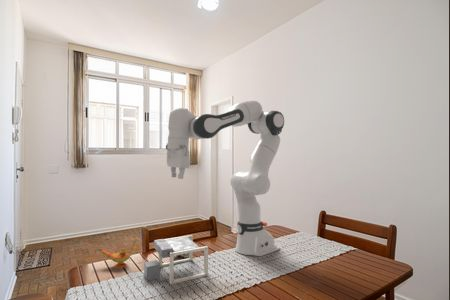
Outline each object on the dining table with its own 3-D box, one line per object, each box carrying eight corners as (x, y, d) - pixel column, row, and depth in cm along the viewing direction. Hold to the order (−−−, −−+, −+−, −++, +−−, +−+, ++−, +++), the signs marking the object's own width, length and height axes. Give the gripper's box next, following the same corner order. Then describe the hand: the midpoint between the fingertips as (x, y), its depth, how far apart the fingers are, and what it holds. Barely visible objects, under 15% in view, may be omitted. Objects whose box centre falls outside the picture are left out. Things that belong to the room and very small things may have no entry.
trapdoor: (186, 241, 112) (186, 234, 112) (199, 251, 99) (199, 244, 99) (153, 246, 105) (153, 239, 105) (162, 259, 92) (162, 250, 92)
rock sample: (186, 253, 112) (179, 236, 118) (173, 263, 113) (167, 246, 119) (199, 256, 120) (192, 240, 125) (187, 265, 121) (181, 249, 126)
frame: (191, 259, 115) (191, 234, 115) (208, 275, 99) (208, 246, 99) (158, 266, 107) (158, 240, 108) (170, 284, 92) (170, 253, 92)
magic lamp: (100, 262, 112) (100, 237, 112) (140, 262, 111) (140, 237, 112) (91, 268, 105) (92, 242, 105) (134, 269, 104) (134, 242, 105)
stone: (156, 272, 102) (156, 259, 102) (159, 277, 97) (159, 264, 97) (144, 275, 99) (144, 262, 100) (146, 280, 95) (146, 267, 95)
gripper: (194, 144, 101) (192, 179, 100) (178, 146, 119) (177, 176, 118) (178, 143, 98) (177, 179, 97) (164, 146, 116) (163, 176, 115)
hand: (177, 178), depth 108 cm, fingers open, 8 cm apart
